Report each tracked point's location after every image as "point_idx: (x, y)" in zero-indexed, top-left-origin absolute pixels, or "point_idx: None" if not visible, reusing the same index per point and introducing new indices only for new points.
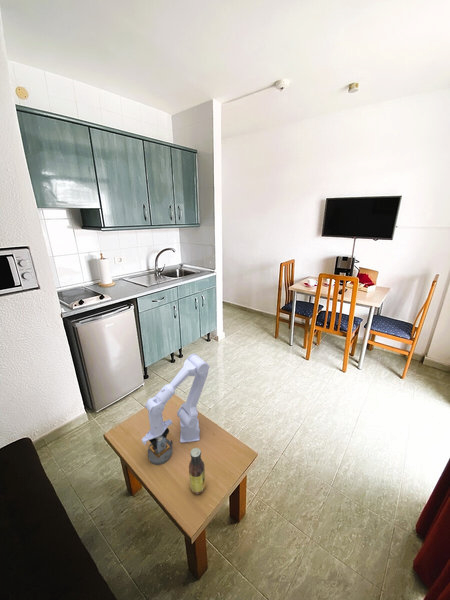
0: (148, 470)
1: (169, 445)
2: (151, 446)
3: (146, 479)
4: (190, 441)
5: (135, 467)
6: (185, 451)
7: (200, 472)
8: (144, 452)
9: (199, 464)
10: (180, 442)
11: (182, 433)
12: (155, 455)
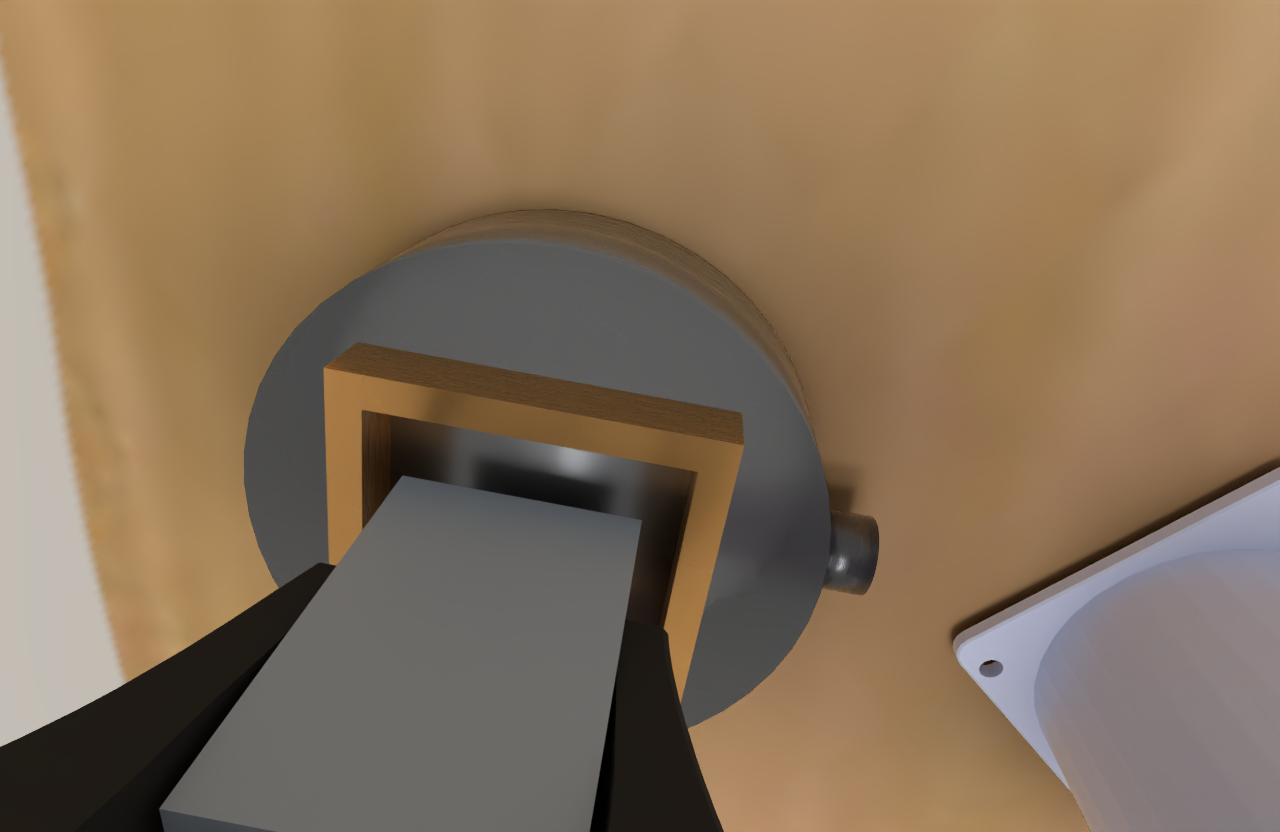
0: (218, 501)
1: (719, 656)
2: (375, 396)
3: (129, 570)
4: (1056, 771)
5: (49, 257)
6: (841, 775)
7: None
8: (345, 143)
9: None
10: (953, 645)
11: (1126, 809)
12: None
